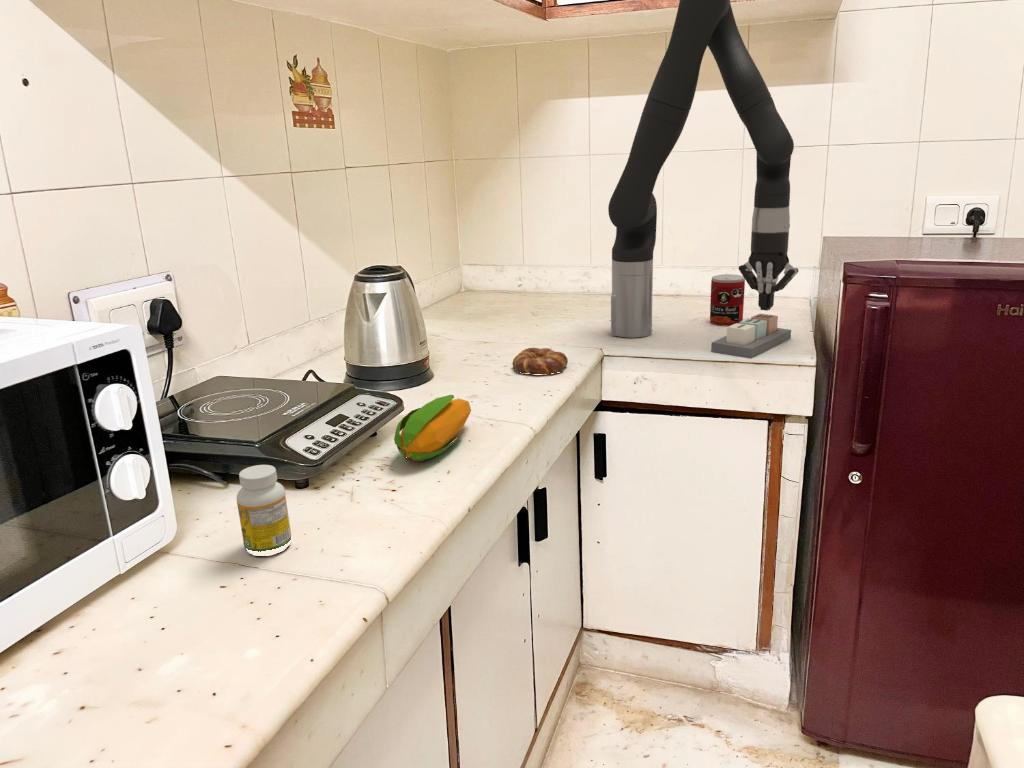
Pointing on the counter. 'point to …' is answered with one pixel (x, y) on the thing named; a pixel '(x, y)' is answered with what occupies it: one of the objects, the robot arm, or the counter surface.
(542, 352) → the brown bread ring
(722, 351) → the frame
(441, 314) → the counter surface
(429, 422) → the corn
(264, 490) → the supplement bottle
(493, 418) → the counter surface
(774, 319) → the slotted peach tile
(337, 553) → the counter surface
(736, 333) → the cream tile
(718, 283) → the canned food
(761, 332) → the teal tile
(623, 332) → the robot arm
